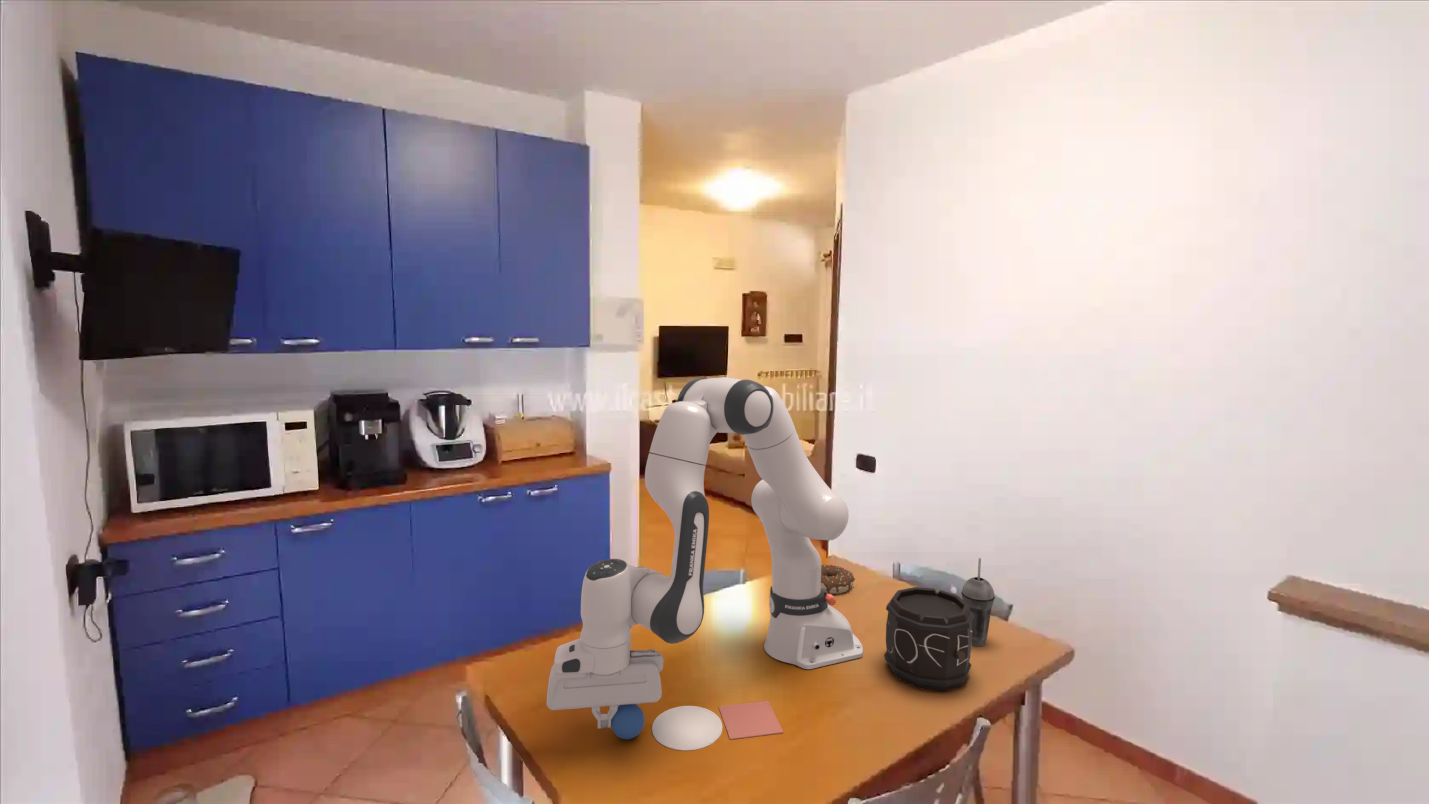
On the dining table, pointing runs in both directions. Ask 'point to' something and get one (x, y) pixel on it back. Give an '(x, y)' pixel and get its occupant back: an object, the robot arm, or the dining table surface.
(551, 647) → the dining table surface
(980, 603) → the beverage cup
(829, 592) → the donut
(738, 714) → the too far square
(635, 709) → the ball
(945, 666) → the wooden barrel
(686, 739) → the disc
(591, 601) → the robot arm
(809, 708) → the dining table surface
